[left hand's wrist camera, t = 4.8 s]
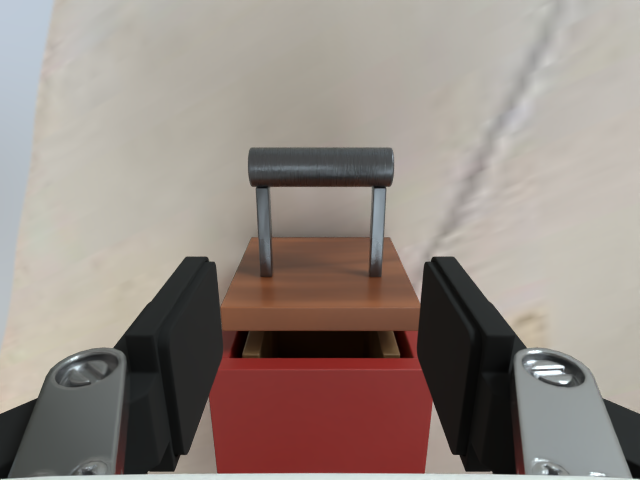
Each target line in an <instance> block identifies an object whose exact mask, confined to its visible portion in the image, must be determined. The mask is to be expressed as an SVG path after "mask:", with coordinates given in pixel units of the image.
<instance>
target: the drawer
mask: <svg viewBox="0 0 640 480" xmlns="http://www.w3.org/2000/svg"><path fill="white" fill-rule="evenodd" d="M248 174H249V181H250V184H251V186H252V187H256V202H257V221H258V237H252V238H251V240H250V242H249V244H248V247H247V249H246V251H245V253H244V256H243V258H242V260H241V262H240V264H239V267H238V269H237V271H236V273H235V276H234V278H233V280H232V282H231V285H230V287H229V289H228V291H227V293H226V296H225V298H224V300H223V302H222V305H221V307H220V312H221V323H222V330H223V331H249V333H248V336H247V340H246V343H245V347H244V350H243V353H242V358H400V353H399V350H398V346H397V343H396V339H395V336H394V333H393V331H418V326H419V315H420V302H419V300H418V298H417V295H416V293H415V291H414V289H413V287H412V285H411V282H410V280H409V278H408V276H407V274H406V271H405V269H404V267H403V265H402V263H401V261H400V258H399V256H398V254H397V252H396V250H395V247H394V245H393V243H392V241H391V239H390V238H389V237H384V223H385V204H386V187H390V186H391V185H392V182H393V176H394V154H393V150H392V148H250V150H249V155H248ZM270 187H372V200H371V223H370V237H272V225H271V201H270Z"/></svg>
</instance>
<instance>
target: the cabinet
mask: <svg viewBox="0 0 640 480" xmlns="http://www.w3.org/2000/svg"><path fill="white" fill-rule="evenodd" d="M248 333H249V331H223V330H222V337H223V356H222V360H221V363H220V366H219V369H218V371H217V374H216V377H215V380H214V383H213V385H212V388H211V391H210V394H209V401H210V410H211V419H212V428H213V438H214V447H215V456H216V465H217V474H253V473H387V474H425V465H426V456H427V447H428V438H429V429H430V420H431V411H432V402H433V399H432V397H431V394H430V391H429V388H428V385H427V383H426V380H425V377H424V374H423V371H422V369H421V366H420V363H419V360H418V356H417V337H418V331H393V333H394V336H395V339H396V343H397V346H398V350H399V353H400V358H242V353H243V350H244V347H245V343H246V340H247V336H248Z"/></svg>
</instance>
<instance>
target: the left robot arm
mask: <svg viewBox="0 0 640 480" xmlns="http://www.w3.org/2000/svg"><path fill="white" fill-rule="evenodd" d="M222 356H223V337H222V326H221V315H220V304H219V293H218V282H217V271H216V264H215V262H209V259H208V258H207V257H186V258H185V259H184V260H183V261H182V263H181V264H180V265H179V266H178V268H177V269H176V270H175V272H174V273H173V274H172V275H171V277H170V278H169V279H168V281H167V282H166V283H165V284H164V286H163V287H162V288H161V290H160V291H159V292H158V293H157V295H156V296H155V297H154V299H153V300H152V301H151V302H150V303H148V304H147V305H146V307H145V308H144V309H143V311H142V312H141V313H140V314H139V316H138V317H137V318H136V320H135V321H134V322H133V323H132V325H131V326H130V327H129V328H128V330H127V331H126V332H125V334H124V335H123V336H122V337H121V339H120V340H119V341H118V342H117V344H116V345H115V346H114V348H94V349H89V350H85V351H81V352H78V353H76V354H73V355H71V356H69V357H67V358H65V359H63V360H62V361H60V362H58V363H57V364H56V365H55V366H54V367H53V368H51V369H50V371H49V373H48V374H47V376H46V378H45V380H44V383H43V386H42V388H41V391H40V394H39V396H38V398H37V399H34V400H32V401H30V402H27V403H25V404H23V405H20V406H18V407H16V408H13V409H11V410H9V411H6V412H4V413H1V414H0V480H640V414H639V413H636V412H634V411H631V410H629V409H627V408H624V407H622V406H620V405H617V404H615V403H613V402H610V401H608V400H606V399H603V398H602V396H601V394H600V391H599V388H598V386H597V383H596V380H595V378H594V376H593V374H592V373H591V371H590V369H589V368H587V367H586V366H585V365H584V364H583V363H582V362H580V361H578V360H577V359H575V358H573V357H571V356H569V355H567V354H564V353H562V352H559V351H555V350H551V349H546V348H526V346H525V345H524V344H523V342H522V341H521V340H520V339H519V337H518V336H517V335H516V334H515V332H514V331H513V330H512V328H511V327H510V326H509V325H508V323H507V322H506V321H505V320H504V318H503V317H502V316H501V314H500V313H499V312H498V311H497V309H496V308H495V307H494V306H493V304H492V303H490V302H489V301H488V300H487V299H486V297H485V296H484V295H483V293H482V292H481V291H480V290H479V288H478V287H477V286H476V284H475V283H474V282H473V281H472V279H471V278H470V277H469V275H468V274H467V273H466V272H465V270H464V269H463V268H462V266H461V265H460V264H459V263H458V261H457V260H456V259H455V258H454V257H433V258H432V259H431V262H425V264H424V271H423V282H422V293H421V304H420V315H419V326H418V337H417V356H418V360H419V363H420V366H421V369H422V371H423V374H424V377H425V380H426V383H427V385H428V388H429V391H430V394H431V397H432V399H433V402H434V405H435V408H436V411H437V413H438V416H439V419H440V422H441V425H442V427H443V430H444V433H445V436H446V439H447V441H448V444H449V447H450V450H451V452H452V454H453V455H460V458H461V460H462V463H463V465H464V468H465V471H466V472H490V471H492V472H493V474H387V473H253V474H147V472H148V471H150V472H174V471H175V468H176V465H177V463H178V460H179V457H180V455H187V454H188V452H189V450H190V447H191V444H192V441H193V439H194V436H195V433H196V430H197V427H198V425H199V422H200V419H201V416H202V413H203V411H204V408H205V405H206V402H207V399H208V397H209V394H210V391H211V388H212V385H213V383H214V380H215V377H216V374H217V371H218V369H219V366H220V363H221V360H222Z"/></svg>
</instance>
